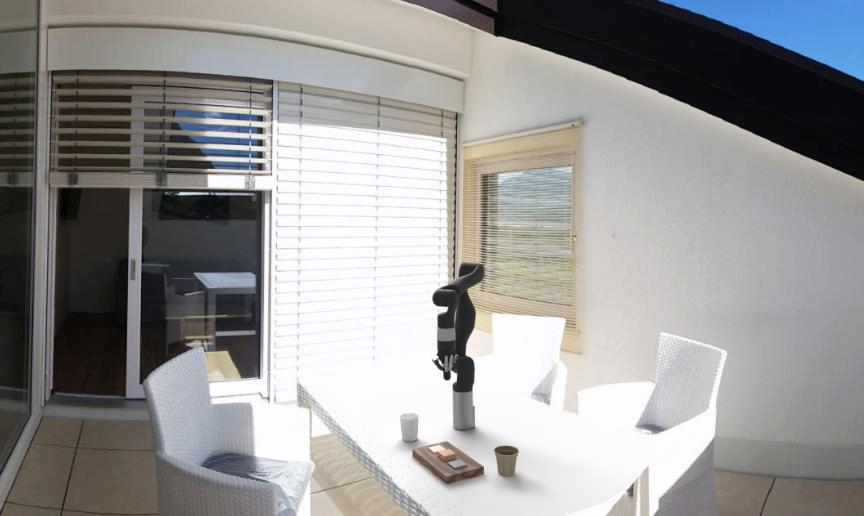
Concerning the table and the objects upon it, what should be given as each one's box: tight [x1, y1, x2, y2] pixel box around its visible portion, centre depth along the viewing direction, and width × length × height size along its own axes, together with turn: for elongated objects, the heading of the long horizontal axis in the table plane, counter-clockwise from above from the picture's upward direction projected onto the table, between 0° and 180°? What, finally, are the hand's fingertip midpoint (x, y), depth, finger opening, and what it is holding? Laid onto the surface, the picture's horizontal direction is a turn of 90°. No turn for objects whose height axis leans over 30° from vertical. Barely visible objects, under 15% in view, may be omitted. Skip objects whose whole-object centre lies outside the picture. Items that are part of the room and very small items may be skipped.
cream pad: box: [428, 445, 446, 454], centre depth 224 cm, size 5×5×3 cm
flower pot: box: [493, 444, 520, 477], centre depth 209 cm, size 9×9×9 cm
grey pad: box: [448, 459, 467, 470], centre depth 210 cm, size 5×5×3 cm
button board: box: [411, 440, 485, 486], centre depth 217 cm, size 16×28×3 cm, turn 28°
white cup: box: [399, 412, 419, 442], centre depth 244 cm, size 8×8×10 cm
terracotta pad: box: [438, 449, 456, 462], centre depth 217 cm, size 5×5×3 cm
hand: (447, 379), depth 230 cm, fingers closed
